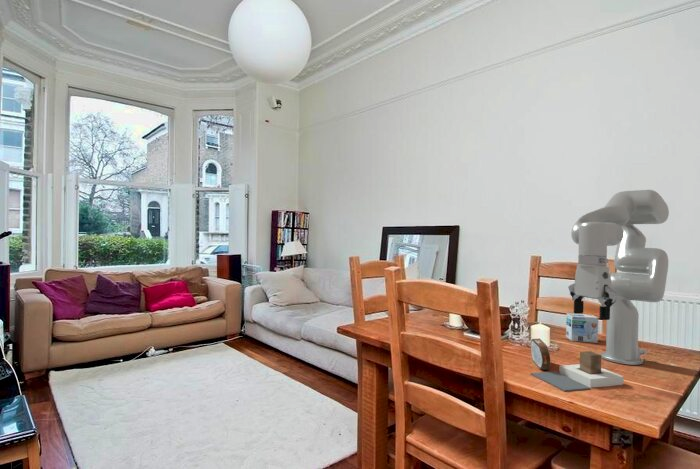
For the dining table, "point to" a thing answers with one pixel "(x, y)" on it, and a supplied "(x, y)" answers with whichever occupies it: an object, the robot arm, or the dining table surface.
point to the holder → (591, 376)
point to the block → (590, 362)
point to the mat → (560, 381)
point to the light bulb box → (582, 327)
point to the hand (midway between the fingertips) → (591, 316)
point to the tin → (540, 354)
